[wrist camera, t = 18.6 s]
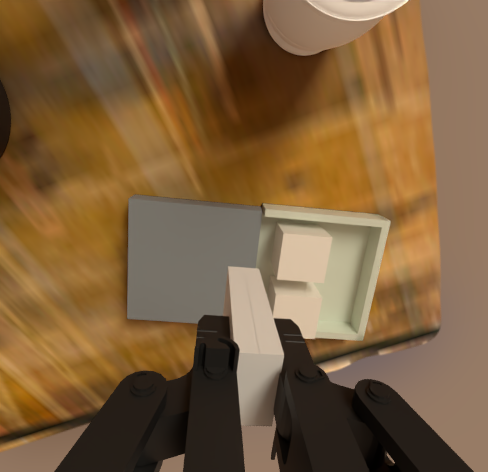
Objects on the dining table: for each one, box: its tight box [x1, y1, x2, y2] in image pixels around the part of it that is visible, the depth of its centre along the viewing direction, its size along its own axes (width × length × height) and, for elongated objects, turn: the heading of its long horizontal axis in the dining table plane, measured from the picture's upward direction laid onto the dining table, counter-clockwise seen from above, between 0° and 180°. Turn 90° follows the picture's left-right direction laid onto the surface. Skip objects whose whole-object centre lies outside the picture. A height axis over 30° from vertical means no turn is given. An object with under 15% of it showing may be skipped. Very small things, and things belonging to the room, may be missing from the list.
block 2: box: [267, 276, 322, 339], centre depth 39 cm, size 5×5×5 cm
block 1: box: [271, 221, 332, 283], centre depth 37 cm, size 5×5×5 cm
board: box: [127, 195, 263, 324], centre depth 39 cm, size 14×14×2 cm
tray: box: [256, 203, 391, 341], centre depth 40 cm, size 14×15×3 cm
